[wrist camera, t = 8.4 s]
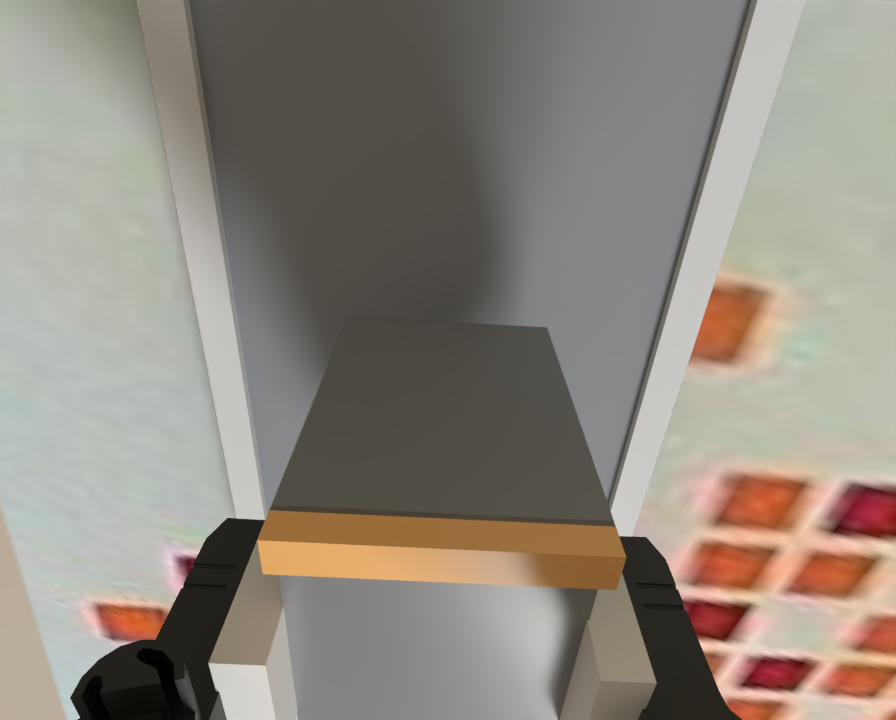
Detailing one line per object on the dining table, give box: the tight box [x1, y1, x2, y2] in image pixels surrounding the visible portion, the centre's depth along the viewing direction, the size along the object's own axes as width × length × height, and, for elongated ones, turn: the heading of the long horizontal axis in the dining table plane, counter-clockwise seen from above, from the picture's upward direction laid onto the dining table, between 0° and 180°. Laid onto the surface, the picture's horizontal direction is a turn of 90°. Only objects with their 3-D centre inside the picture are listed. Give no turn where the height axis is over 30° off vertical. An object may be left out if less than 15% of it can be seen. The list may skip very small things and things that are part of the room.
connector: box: [257, 316, 626, 720], centre depth 12 cm, size 10×4×6 cm, turn 177°
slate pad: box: [136, 0, 806, 537], centre depth 17 cm, size 20×14×2 cm
